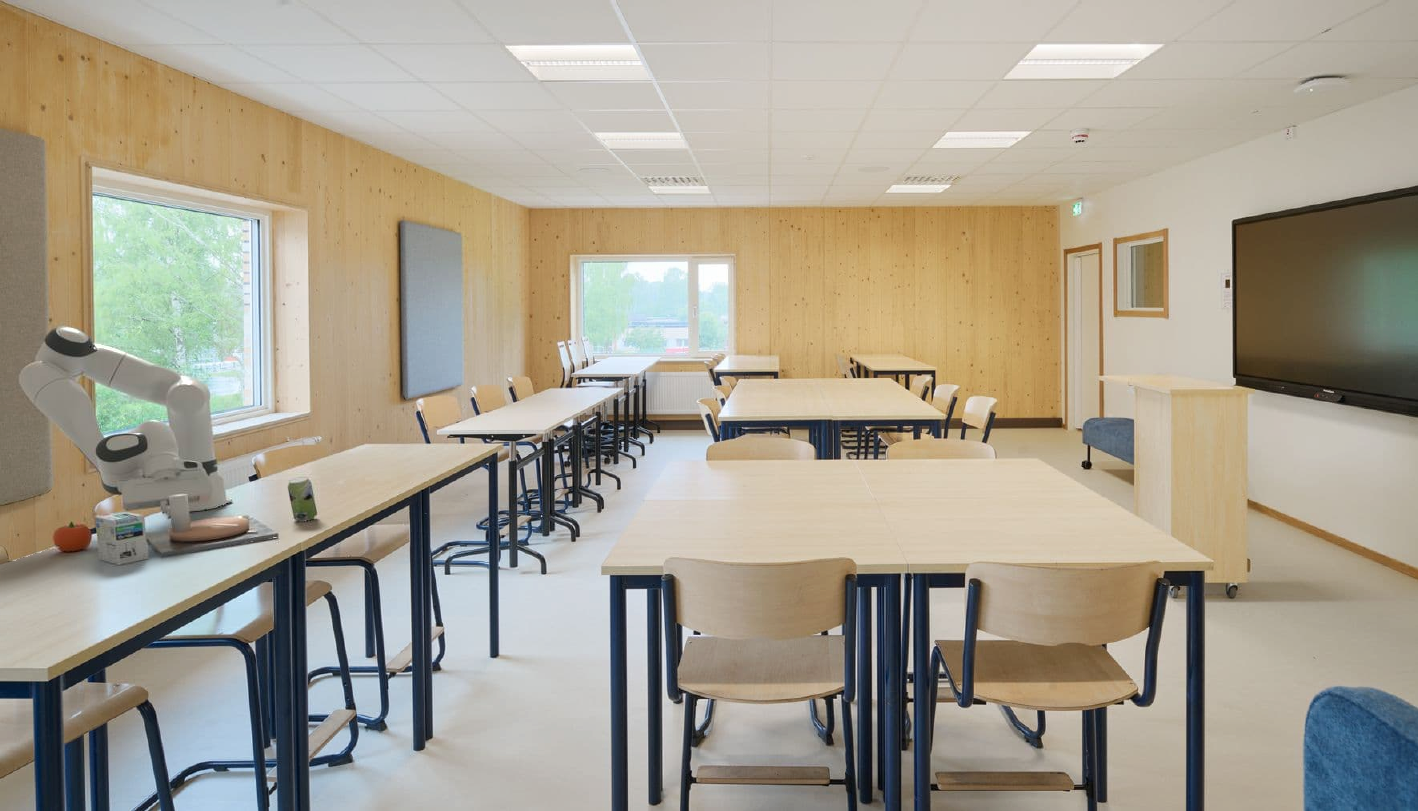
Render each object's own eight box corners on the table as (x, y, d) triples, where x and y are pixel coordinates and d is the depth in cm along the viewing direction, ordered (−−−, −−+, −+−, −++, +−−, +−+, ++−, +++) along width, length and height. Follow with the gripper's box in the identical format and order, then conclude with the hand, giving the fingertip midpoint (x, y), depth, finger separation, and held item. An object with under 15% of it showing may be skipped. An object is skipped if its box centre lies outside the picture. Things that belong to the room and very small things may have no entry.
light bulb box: (149, 559, 213) (145, 514, 212) (118, 566, 207) (113, 520, 206) (128, 553, 219) (124, 509, 218) (97, 560, 213) (93, 515, 212)
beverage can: (321, 517, 254) (318, 475, 253) (307, 523, 246) (304, 480, 245) (300, 517, 254) (297, 475, 253) (285, 523, 247) (282, 480, 246)
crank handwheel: (152, 540, 225) (148, 497, 224) (207, 523, 243) (204, 483, 242) (213, 542, 221) (209, 498, 220) (264, 525, 239) (261, 484, 237)
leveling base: (143, 538, 234) (142, 528, 234) (252, 521, 250) (252, 512, 250) (161, 557, 214) (160, 546, 214) (278, 537, 230) (277, 527, 230)
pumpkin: (99, 548, 225) (96, 519, 224) (63, 556, 218) (60, 526, 217) (83, 545, 229) (81, 516, 228) (48, 552, 222) (45, 523, 221)
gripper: (116, 471, 225) (124, 516, 218) (208, 461, 238) (218, 503, 231) (115, 486, 229) (123, 531, 222) (206, 476, 242) (216, 518, 235)
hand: (172, 517), depth 227 cm, fingers closed, pressing on crank handwheel
